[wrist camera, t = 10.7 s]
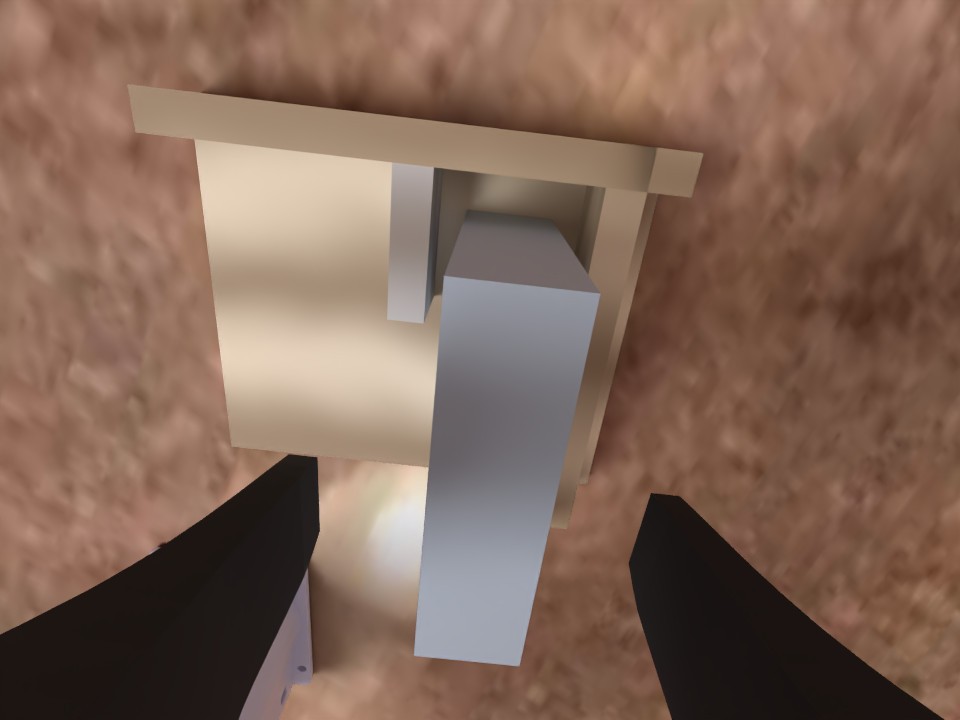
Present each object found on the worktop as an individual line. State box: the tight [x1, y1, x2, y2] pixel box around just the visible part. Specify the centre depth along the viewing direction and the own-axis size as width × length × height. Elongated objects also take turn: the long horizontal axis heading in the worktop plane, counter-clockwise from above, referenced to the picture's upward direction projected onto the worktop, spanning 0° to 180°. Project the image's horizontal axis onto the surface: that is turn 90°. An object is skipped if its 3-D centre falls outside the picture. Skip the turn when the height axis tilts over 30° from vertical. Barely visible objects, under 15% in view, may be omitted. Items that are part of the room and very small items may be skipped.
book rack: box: [127, 84, 704, 529], centre depth 18 cm, size 14×16×4 cm
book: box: [414, 210, 600, 666], centre depth 16 cm, size 11×3×9 cm, turn 174°
